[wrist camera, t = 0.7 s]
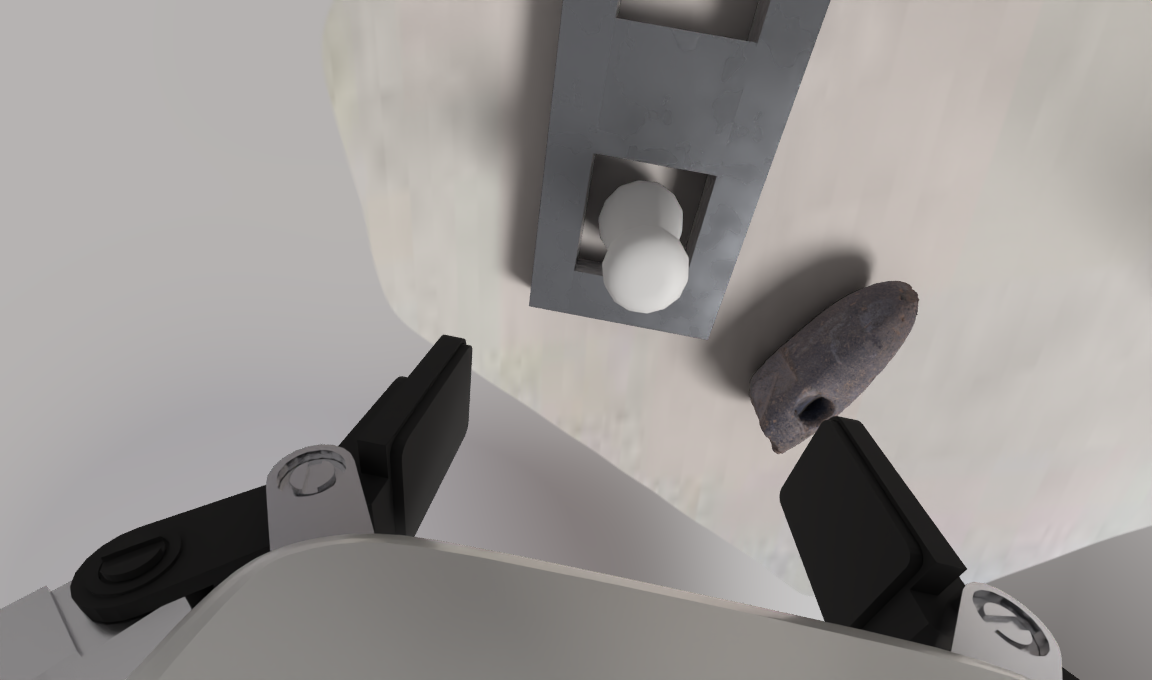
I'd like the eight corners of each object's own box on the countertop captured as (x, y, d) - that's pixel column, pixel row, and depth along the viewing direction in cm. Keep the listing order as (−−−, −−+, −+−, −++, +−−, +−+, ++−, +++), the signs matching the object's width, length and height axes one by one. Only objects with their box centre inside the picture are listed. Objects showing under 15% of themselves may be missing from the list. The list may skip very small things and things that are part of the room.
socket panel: (891, -228, 20) (935, -283, 17) (701, 322, 35) (708, 341, 32) (603, -275, 20) (599, -338, 17) (536, 291, 35) (528, 307, 32)
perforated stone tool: (864, 251, 31) (921, 287, 25) (912, 290, 32) (979, 333, 26) (720, 385, 38) (738, 438, 32) (764, 413, 39) (790, 470, 33)
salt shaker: (597, 179, 30) (579, 221, 19) (678, 170, 30) (710, 210, 18) (604, 257, 33) (591, 335, 22) (678, 252, 32) (705, 330, 21)
